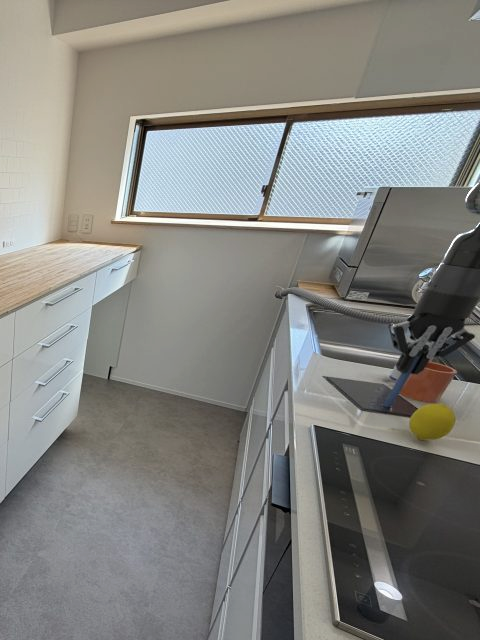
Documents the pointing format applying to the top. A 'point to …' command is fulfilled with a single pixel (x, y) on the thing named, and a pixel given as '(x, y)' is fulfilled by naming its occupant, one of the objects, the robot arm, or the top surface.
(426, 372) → the pen cup
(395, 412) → the tablet
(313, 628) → the top surface
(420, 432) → the lemon
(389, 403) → the stylus
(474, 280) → the robot arm
